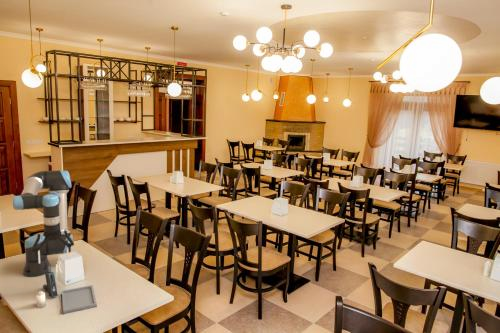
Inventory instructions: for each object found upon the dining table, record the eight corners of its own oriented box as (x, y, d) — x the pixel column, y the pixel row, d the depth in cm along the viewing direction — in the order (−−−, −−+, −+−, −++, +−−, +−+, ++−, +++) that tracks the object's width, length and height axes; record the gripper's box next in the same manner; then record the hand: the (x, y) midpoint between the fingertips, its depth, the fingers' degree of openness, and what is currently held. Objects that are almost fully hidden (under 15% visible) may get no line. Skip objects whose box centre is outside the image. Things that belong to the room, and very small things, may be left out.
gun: (43, 264, 205) (53, 266, 195) (48, 292, 205) (58, 295, 195) (38, 265, 203) (48, 267, 193) (43, 294, 203) (53, 297, 193)
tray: (62, 293, 200) (61, 290, 199) (92, 287, 207) (92, 285, 207) (63, 314, 181) (63, 311, 181) (96, 306, 189) (96, 303, 188)
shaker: (37, 305, 188) (36, 290, 186) (45, 303, 190) (44, 288, 188) (36, 309, 184) (36, 294, 183) (45, 307, 186) (44, 292, 185)
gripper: (24, 228, 178) (26, 267, 182) (78, 222, 190) (79, 258, 194) (24, 224, 184) (27, 261, 188) (77, 218, 197) (78, 253, 201)
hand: (53, 260), depth 191 cm, fingers open, 13 cm apart
